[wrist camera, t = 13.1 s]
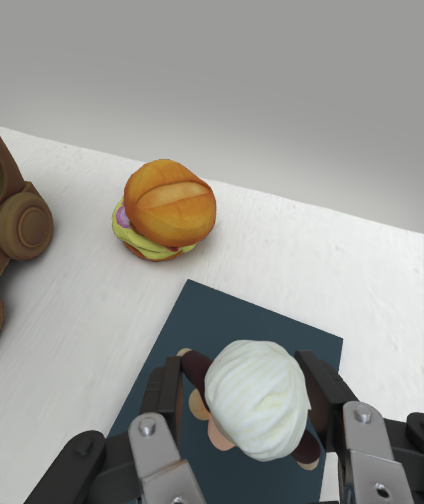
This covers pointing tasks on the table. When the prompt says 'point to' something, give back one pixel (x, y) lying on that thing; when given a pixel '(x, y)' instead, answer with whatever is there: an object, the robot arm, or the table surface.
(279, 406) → the grandmother figurine
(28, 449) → the table surface
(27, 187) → the wooden toy train
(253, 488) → the mat
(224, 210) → the table surface
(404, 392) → the table surface
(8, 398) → the table surface
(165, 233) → the cheeseburger
